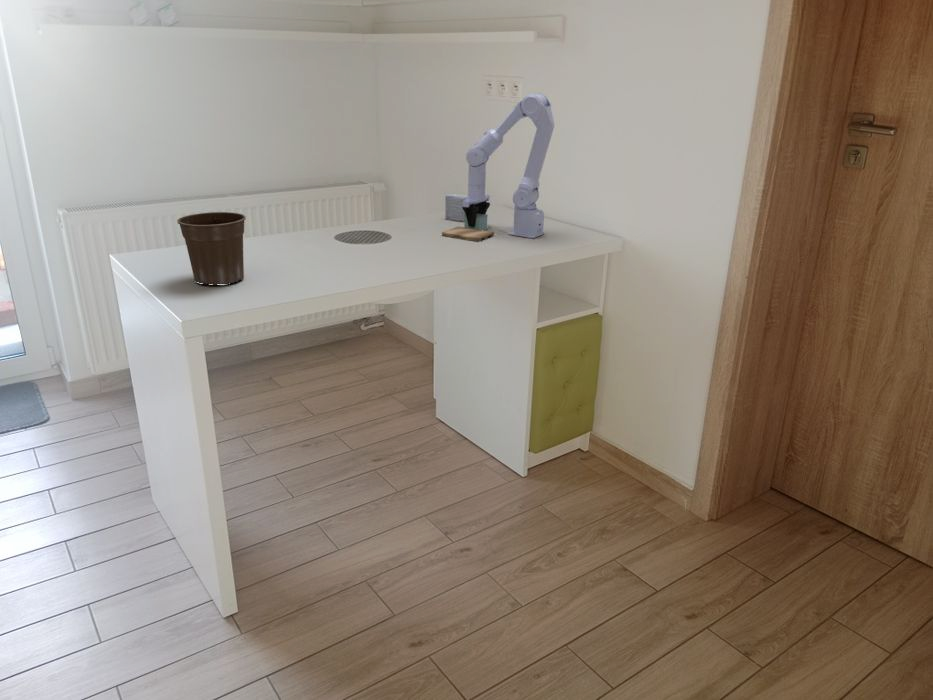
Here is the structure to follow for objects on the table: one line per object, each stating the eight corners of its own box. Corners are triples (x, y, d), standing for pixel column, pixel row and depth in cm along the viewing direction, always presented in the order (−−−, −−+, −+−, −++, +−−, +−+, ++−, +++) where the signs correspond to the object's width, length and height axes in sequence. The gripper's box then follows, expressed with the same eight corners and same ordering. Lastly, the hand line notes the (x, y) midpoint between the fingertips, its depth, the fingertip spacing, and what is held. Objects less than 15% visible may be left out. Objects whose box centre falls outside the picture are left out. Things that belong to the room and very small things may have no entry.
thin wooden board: (494, 235, 234) (494, 232, 233) (478, 241, 226) (478, 238, 225) (457, 230, 240) (458, 226, 240) (441, 235, 232) (441, 232, 232)
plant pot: (177, 277, 185) (168, 215, 178) (237, 267, 194) (231, 208, 188) (198, 293, 173) (189, 227, 167) (261, 282, 182) (255, 219, 176)
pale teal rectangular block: (487, 229, 243) (487, 214, 241) (479, 232, 239) (479, 217, 237) (471, 226, 246) (472, 212, 244) (464, 229, 242) (464, 215, 240)
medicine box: (470, 220, 255) (470, 195, 252) (463, 222, 252) (463, 197, 249) (451, 217, 259) (452, 193, 256) (444, 219, 256) (445, 195, 252)
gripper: (477, 180, 244) (476, 219, 249) (454, 186, 233) (454, 227, 238) (495, 182, 241) (494, 222, 246) (473, 188, 229) (472, 230, 235)
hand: (475, 225), depth 242 cm, fingers closed on pale teal rectangular block, 5 cm apart
